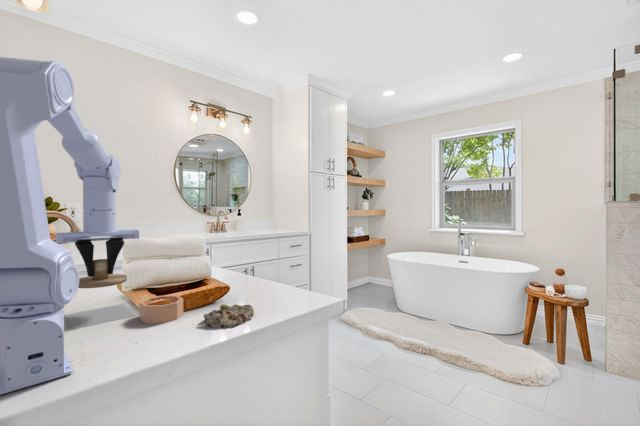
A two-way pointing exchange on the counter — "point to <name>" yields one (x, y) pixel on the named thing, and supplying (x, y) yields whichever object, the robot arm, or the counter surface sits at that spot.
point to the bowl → (161, 310)
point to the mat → (98, 316)
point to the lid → (101, 276)
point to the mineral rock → (229, 316)
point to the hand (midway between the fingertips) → (100, 274)
